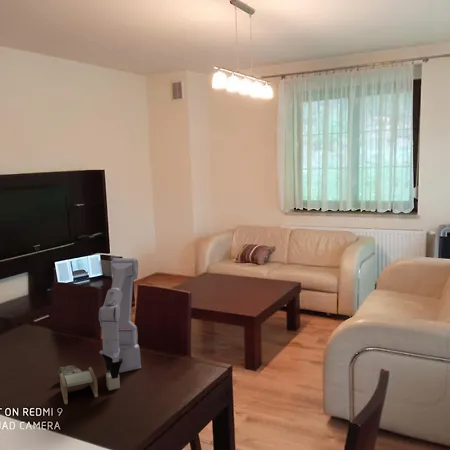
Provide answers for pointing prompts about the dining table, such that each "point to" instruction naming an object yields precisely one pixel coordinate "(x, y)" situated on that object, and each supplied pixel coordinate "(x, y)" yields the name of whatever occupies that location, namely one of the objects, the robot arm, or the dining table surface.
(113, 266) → the robot arm
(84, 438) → the dining table surface
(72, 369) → the rock sample
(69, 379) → the pale grey slab
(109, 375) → the plain off-white cube
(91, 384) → the tan piece
